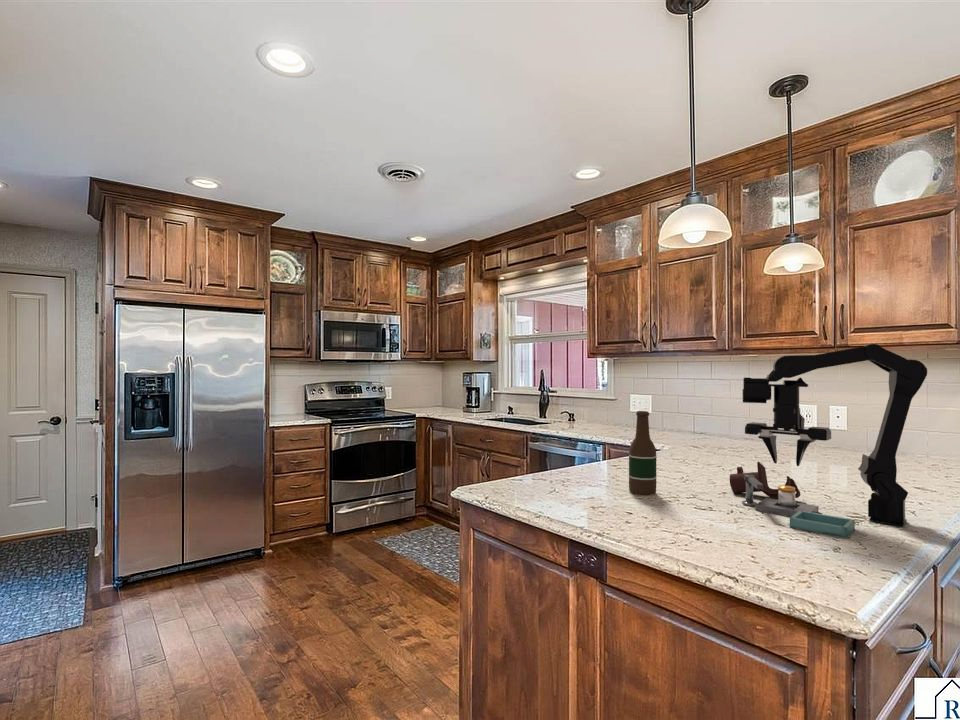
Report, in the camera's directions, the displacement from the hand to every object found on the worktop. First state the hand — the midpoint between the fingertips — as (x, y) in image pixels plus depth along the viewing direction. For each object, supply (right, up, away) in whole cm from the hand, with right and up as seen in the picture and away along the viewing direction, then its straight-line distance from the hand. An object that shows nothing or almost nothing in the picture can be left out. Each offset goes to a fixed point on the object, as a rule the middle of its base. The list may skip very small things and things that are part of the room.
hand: (786, 464), depth 136 cm
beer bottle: (-31, -12, +19) cm, 39 cm away
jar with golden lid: (0, -12, 0) cm, 12 cm away
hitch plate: (-2, -12, +2) cm, 12 cm away
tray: (-1, -12, -15) cm, 19 cm away
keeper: (-8, -5, +1) cm, 10 cm away
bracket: (+3, -13, +15) cm, 20 cm away
